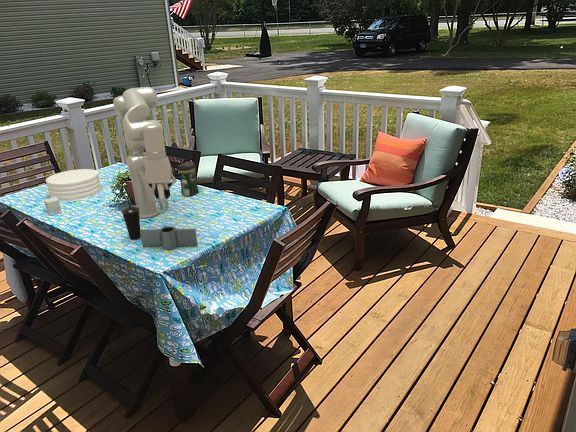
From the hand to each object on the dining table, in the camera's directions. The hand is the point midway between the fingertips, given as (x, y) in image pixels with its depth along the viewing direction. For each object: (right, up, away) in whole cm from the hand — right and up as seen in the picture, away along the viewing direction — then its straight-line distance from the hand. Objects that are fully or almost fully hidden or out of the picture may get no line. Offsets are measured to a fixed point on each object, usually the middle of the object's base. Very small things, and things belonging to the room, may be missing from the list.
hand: (162, 197), depth 197 cm
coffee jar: (-4, +5, +72) cm, 72 cm away
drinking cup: (-17, -18, +19) cm, 31 cm away
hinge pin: (0, -4, +2) cm, 5 cm away
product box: (-72, -6, +54) cm, 90 cm away
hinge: (+1, -21, +8) cm, 23 cm away
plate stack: (-72, +5, +80) cm, 108 cm away
